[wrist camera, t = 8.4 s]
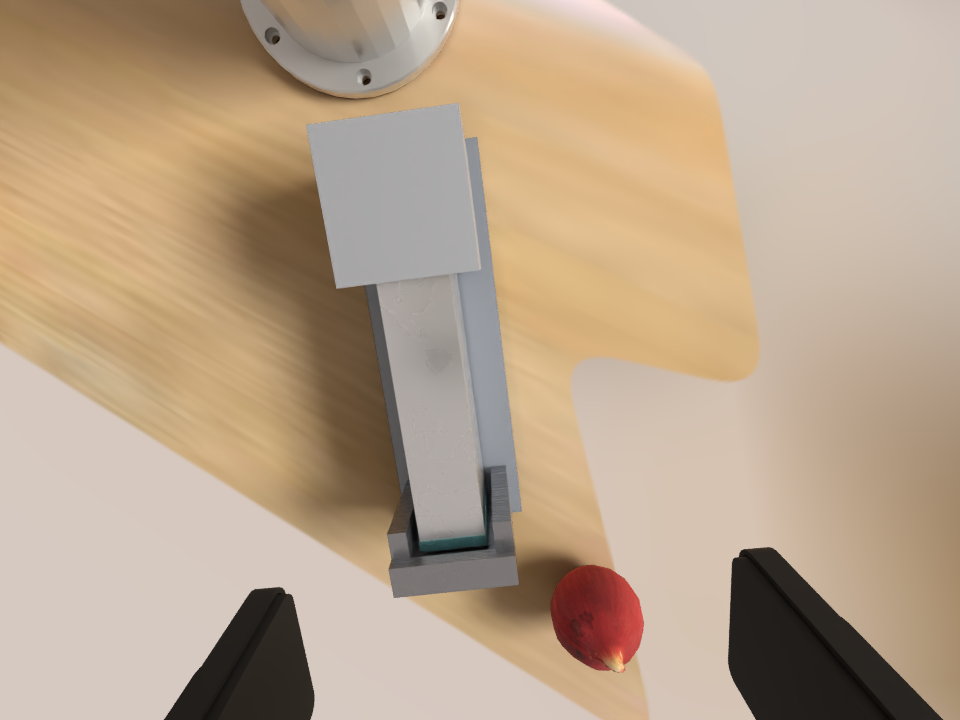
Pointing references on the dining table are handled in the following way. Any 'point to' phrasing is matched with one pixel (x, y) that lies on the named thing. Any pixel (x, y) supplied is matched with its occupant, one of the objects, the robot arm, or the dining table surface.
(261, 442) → the dining table surface
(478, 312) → the board
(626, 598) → the onion
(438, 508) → the grey rectangular block
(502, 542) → the socket
